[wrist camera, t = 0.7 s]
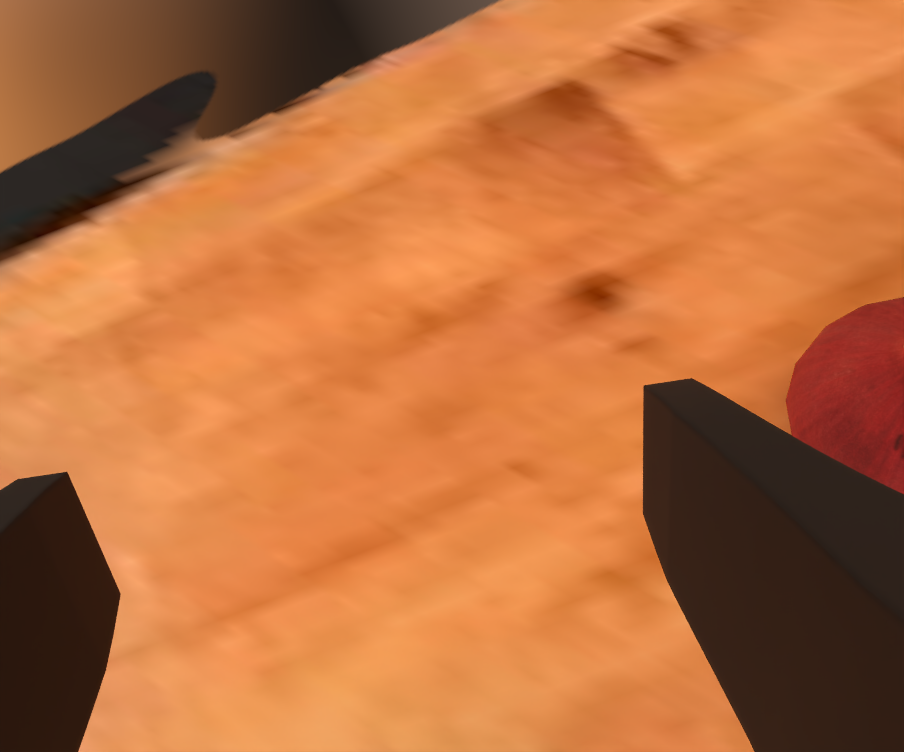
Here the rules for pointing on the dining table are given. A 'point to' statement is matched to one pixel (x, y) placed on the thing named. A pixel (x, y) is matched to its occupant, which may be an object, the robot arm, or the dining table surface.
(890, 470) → the onion
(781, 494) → the robot arm
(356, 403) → the dining table surface
